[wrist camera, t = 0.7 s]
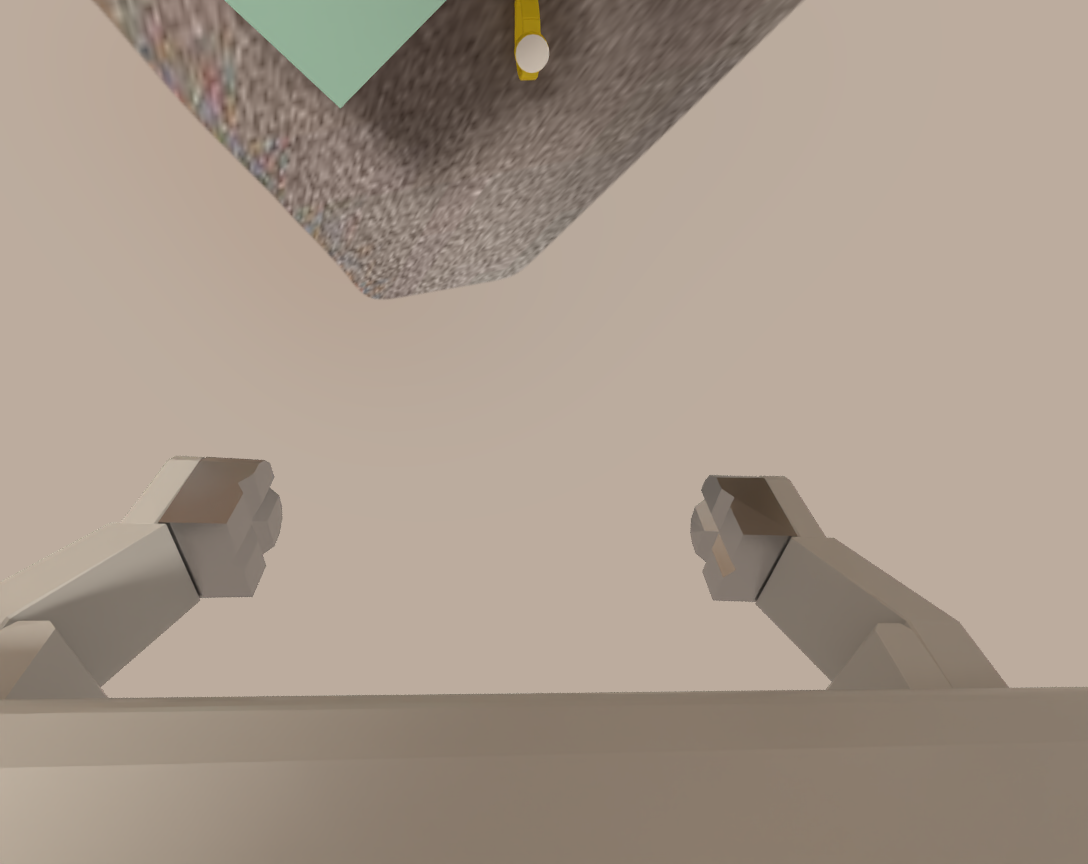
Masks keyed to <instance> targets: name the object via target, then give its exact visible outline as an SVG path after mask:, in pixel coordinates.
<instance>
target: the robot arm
mask: <svg viewBox="0 0 1088 864" xmlns="http://www.w3.org/2000/svg"><path fill="white" fill-rule="evenodd" d="M273 479H274V474H273V471H272V468H271V465H270V463H269V462H267V461H265V460H252V459H235V458H216V457H206V458H204V457H189V456H175V457H173V458H171V459H169V460H168V461H167V462H166V463H165V465H164V466H163V467H162V469H161V470H160V471H159V472H158V474H157V475H156V476H155V478H154V479H153V481H152V482H151V483H150V484H149V486H148V487H147V489H146V490H145V491H144V492H143V494H142V495H141V496H140V498H139V499H138V500H137V502H136V503H135V504H134V505H133V507H132V508H131V510H130V511H129V512H128V513H127V515H126V516H125V517H124V519H123V520H122V521H121V523H109V524H107V525H105V526H103V527H102V528H100V529H98V530H96V531H94V532H92V533H91V534H89V535H87V536H85V537H83V538H81V539H79V540H78V541H76V542H74V543H72V544H70V545H68V546H66V547H65V548H63V549H61V550H59V551H57V552H55V553H53V554H52V555H50V556H48V557H46V558H44V559H42V560H41V561H39V562H37V563H35V564H33V565H31V566H29V567H28V568H26V569H24V570H22V571H20V572H18V573H16V574H15V575H13V576H11V577H9V578H7V579H5V580H3V581H2V582H0V864H1088V687H1044V688H1043V687H1041V688H1009V687H1008V686H1007V684H1006V683H1005V682H1004V680H1003V679H1002V678H1001V676H1000V675H999V674H998V673H997V671H996V670H995V669H994V667H993V666H992V665H991V663H990V662H989V661H988V660H987V658H986V657H985V655H984V654H983V653H982V651H981V650H980V649H979V647H978V646H977V645H976V643H975V642H974V641H973V639H972V638H971V637H970V636H969V634H968V633H967V632H966V630H965V629H964V628H963V626H962V625H961V624H960V622H958V621H957V620H956V619H954V618H952V617H951V616H950V615H948V614H947V613H945V612H944V611H942V610H940V609H939V608H938V607H936V606H935V605H933V604H932V603H930V602H929V601H927V600H926V599H924V598H923V597H921V596H920V595H918V594H917V593H915V592H914V591H912V590H911V589H909V588H908V587H906V586H905V585H903V584H902V583H900V582H899V581H897V580H896V579H895V578H893V577H892V576H890V575H889V574H887V573H885V572H884V571H883V570H881V569H880V568H878V567H877V566H875V565H873V564H872V563H871V562H869V561H868V560H866V559H865V558H863V557H862V556H860V555H859V554H857V553H856V552H854V551H853V550H851V549H850V548H848V547H847V546H845V545H844V544H842V543H841V542H839V541H838V540H836V539H835V538H826V536H825V535H824V533H823V531H822V530H821V528H820V527H819V525H818V524H817V522H816V520H815V519H814V517H813V516H812V514H811V512H810V511H809V509H808V508H807V506H806V505H805V503H804V501H803V500H802V498H801V497H800V495H799V494H798V492H797V490H796V489H795V487H794V486H793V484H792V483H791V481H790V480H789V479H787V478H786V477H784V476H759V477H756V476H721V475H709V477H708V478H707V479H706V480H705V482H704V484H703V487H702V490H701V491H702V493H703V496H704V498H705V500H703V501H702V502H701V503H699V504H698V505H697V506H696V507H695V509H694V512H693V515H692V518H691V532H690V533H691V539H692V544H693V546H694V550H695V552H696V554H697V555H698V556H700V557H701V558H702V559H703V560H704V561H705V562H706V564H705V567H704V569H703V574H704V577H705V580H706V583H707V585H708V588H709V591H710V593H711V596H712V599H713V600H719V601H720V600H721V601H748V602H756V605H757V606H758V607H759V608H760V609H761V610H762V611H763V612H764V613H765V614H766V615H767V616H768V617H769V618H770V619H771V620H772V621H773V622H774V623H775V624H776V625H777V626H778V627H779V628H780V629H781V630H782V631H783V632H784V633H785V634H786V635H787V636H788V637H789V639H791V641H793V643H794V644H795V645H796V646H798V648H799V649H801V651H802V652H803V653H804V654H805V655H806V656H807V657H808V658H809V659H810V660H811V661H812V662H813V663H814V664H815V665H816V666H817V667H818V668H819V669H820V670H821V671H822V672H823V673H824V674H825V675H826V676H827V677H828V678H829V679H830V680H831V681H832V682H831V684H830V685H829V686H828V687H827V689H826V690H778V691H777V690H776V691H775V690H774V691H693V692H692V691H691V692H620V693H619V692H616V693H615V692H614V693H613V692H610V693H536V694H534V693H533V694H442V695H441V694H438V695H352V696H351V695H350V696H349V695H347V696H266V697H265V696H259V697H179V698H178V697H174V698H173V697H171V698H108V697H107V695H106V694H105V693H104V691H103V690H102V689H101V686H102V685H104V684H105V683H106V682H107V681H108V680H109V679H110V678H111V677H113V676H114V675H115V674H116V673H117V672H119V671H120V670H121V669H122V668H123V667H124V666H125V665H127V664H128V663H129V662H130V661H131V660H132V659H133V658H135V657H136V656H137V655H138V654H139V653H140V652H142V651H143V650H144V649H145V648H146V647H147V646H148V645H149V644H151V643H152V642H153V641H154V640H155V639H157V637H159V636H160V635H161V634H162V633H163V632H164V631H166V630H167V629H168V628H169V627H170V626H171V625H173V624H174V623H175V622H176V621H177V620H178V619H179V618H181V617H182V616H183V615H184V614H185V613H186V612H188V611H189V610H190V609H191V608H192V607H193V606H194V605H196V604H197V603H198V602H199V601H200V598H209V597H210V598H211V597H252V596H253V595H254V592H255V590H256V588H257V585H258V583H259V581H260V578H261V576H262V574H263V571H264V569H265V567H266V564H265V561H264V557H263V554H264V553H265V552H267V551H268V550H270V549H271V548H272V547H274V545H275V543H276V541H277V538H278V536H279V533H280V528H281V522H282V505H281V501H280V497H279V495H278V494H277V493H276V492H274V491H273V490H272V489H271V488H270V485H271V483H272V481H273Z"/></svg>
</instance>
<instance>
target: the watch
mask: <svg viewBox="0 0 1088 864" xmlns="http://www.w3.org/2000/svg"><path fill="white" fill-rule="evenodd" d="M514 6H515V41H514V42H515V48H514V55H515V60H516V66H517V72H518V76H519V79H520V80H535V79H537V77H538V73H539V71H540V70H541V69H543V67H544V66H545V65H546V63H547V61H548V59H549V46H548V44H547V41H546V39H545V38H544V37H543V35H542V34H541V31H540V13H539V3H538V0H515V3H514Z"/></svg>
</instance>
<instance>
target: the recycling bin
mask: <svg viewBox="0 0 1088 864" xmlns="http://www.w3.org/2000/svg"><path fill="white" fill-rule="evenodd" d="M225 1H226V2H227V3H228V4H229V5H230V6H231V7H232V8H233V9H234V10H235V11H236V12H238V13H239V14H240V15H241V16H242V17H243V18H244V19H245V20H246V21H247V22H248V23H249V24H250V25H251V26H253V27H254V28H255V29H256V30H257V31H258V32H259V33H260V34H261V35H262V36H263V37H264V38H265V39H267V40H268V41H269V42H270V43H271V44H272V45H273V46H274V47H275V48H276V49H277V50H278V51H279V52H280V53H282V54H283V55H284V56H285V57H286V58H287V59H288V60H289V61H290V62H291V63H292V64H293V65H294V66H295V67H297V68H298V69H299V70H300V71H301V72H302V73H303V74H304V75H305V76H306V77H307V78H308V79H309V80H310V81H312V82H313V83H314V84H315V85H316V86H317V87H318V88H319V89H320V90H321V91H322V92H323V93H324V94H325V95H327V96H328V97H329V98H330V99H331V100H332V101H333V102H334V103H335V104H336V105H337V106H338V107H339V108H341V107H342V106H343V105H344V104H345V103H346V102H347V101H348V100H349V99H350V98H351V97H352V96H353V95H354V94H355V93H356V92H357V91H358V90H359V89H360V88H361V87H362V86H363V85H364V84H365V83H366V82H367V81H368V80H369V79H370V78H371V77H372V76H373V75H374V74H375V73H376V72H377V70H378V69H379V68H380V67H381V66H382V65H383V64H384V63H385V62H386V61H387V60H388V59H389V58H390V57H391V56H392V55H393V54H394V53H395V52H396V51H397V50H398V49H399V48H400V47H401V46H402V45H403V44H404V43H405V42H406V41H407V40H408V39H409V38H410V37H411V36H412V35H413V34H414V33H415V32H416V31H417V30H418V29H419V28H420V27H421V26H422V25H423V24H424V23H425V21H426V20H427V19H428V18H429V17H430V16H431V15H432V14H433V13H434V12H435V11H436V10H437V9H438V8H439V7H440V6H441V5H442V4H443V3H444V2H445V1H446V0H225Z"/></svg>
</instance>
